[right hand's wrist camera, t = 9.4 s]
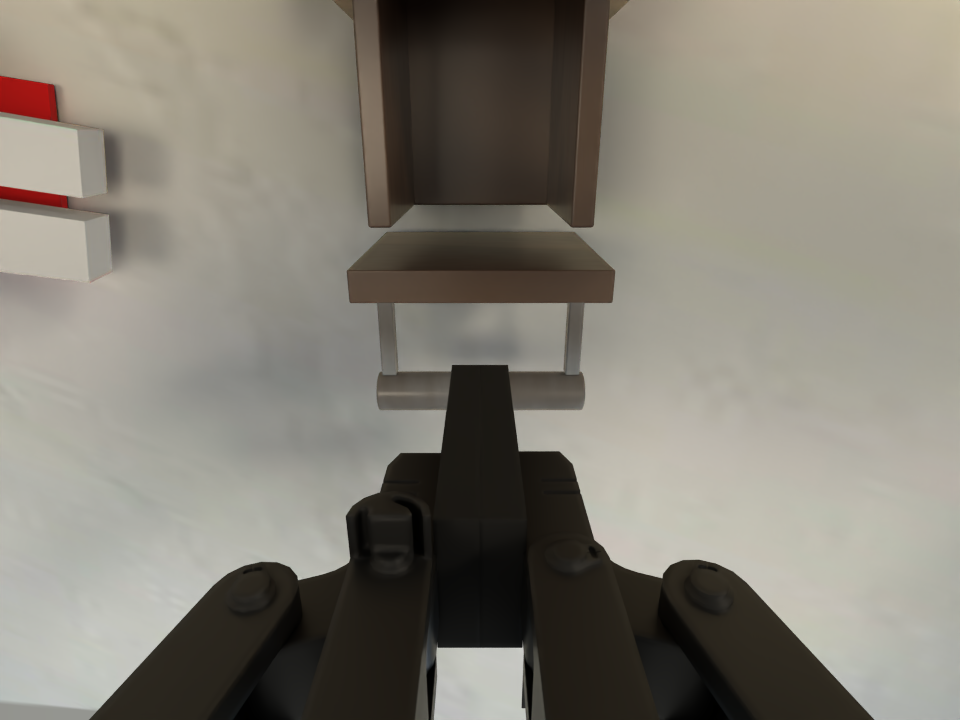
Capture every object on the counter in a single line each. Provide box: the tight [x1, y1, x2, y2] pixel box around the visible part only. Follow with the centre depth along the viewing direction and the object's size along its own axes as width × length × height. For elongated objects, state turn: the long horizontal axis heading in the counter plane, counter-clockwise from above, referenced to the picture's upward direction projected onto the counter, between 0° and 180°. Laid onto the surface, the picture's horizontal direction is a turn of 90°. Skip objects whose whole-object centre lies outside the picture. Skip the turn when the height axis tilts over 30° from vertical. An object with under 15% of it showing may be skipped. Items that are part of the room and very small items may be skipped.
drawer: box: [347, 0, 615, 410], centre depth 22 cm, size 21×10×9 cm, turn 0°
